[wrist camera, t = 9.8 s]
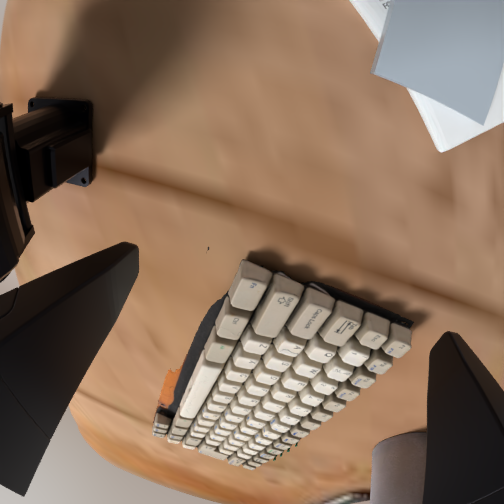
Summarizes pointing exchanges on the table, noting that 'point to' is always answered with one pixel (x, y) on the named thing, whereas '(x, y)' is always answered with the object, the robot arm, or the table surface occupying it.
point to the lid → (445, 51)
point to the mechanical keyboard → (274, 366)
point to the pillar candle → (399, 469)
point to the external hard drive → (434, 113)
